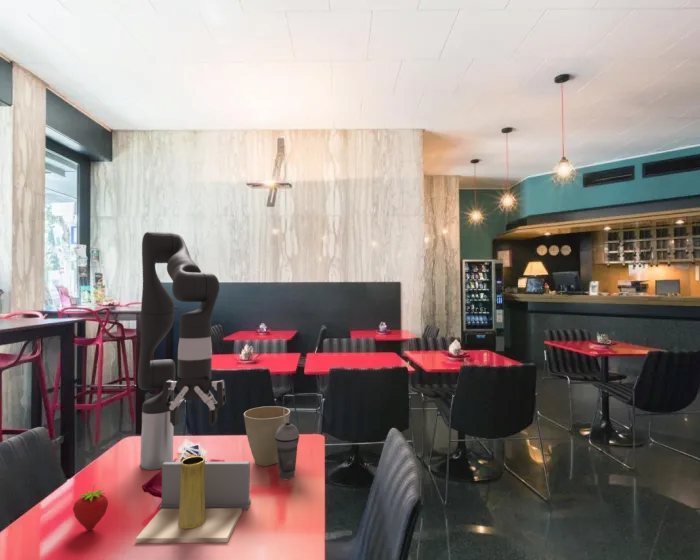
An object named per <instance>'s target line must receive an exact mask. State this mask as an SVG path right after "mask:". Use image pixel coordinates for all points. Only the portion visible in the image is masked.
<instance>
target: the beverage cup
mask: <svg viewBox="0 0 700 560" xmlns="http://www.w3.org/2000/svg"><path fill="white" fill-rule="evenodd" d="M283 415H284V424H282V425H281V426H280V427H279V428H278V430H277V432H276V436H275V440H276V445H277V456H278V462H277V466H278V467H277V469H278V475H279V476H278V477H279V479H280V478H281V480H284V479H288V480H291V479H290V478H292V477H293V478H294V477H295V474H296V473H295V472H296V468H297V467H296V465H297V454H298V445H299V440H300V435H299V430H298V428H297V426H296V425H295V424H292V422H289V423H286V419H285V409H283ZM293 478H292V479H293Z"/></svg>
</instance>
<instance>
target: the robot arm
mask: <svg viewBox="0 0 700 560" xmlns="http://www.w3.org/2000/svg"><path fill="white" fill-rule="evenodd" d="M141 257H142V258H141V262H142V293H141V294H142V295H141V306H140V347H139V356H138V357H139V358H138V367H137V370H138V371H137V384H138V388H139V389H140V390H142V391H151V390H160V389H162V391H161V392H160V393H158V394H157V395H155V396H153V397H151V398H149V399H147V400H145V401H144V402H143V403H142V405H141V411H142V412H141V433H140V467H141V469H143V470H147V471H151V470H154V471H155V470H160V469H162V464H163V463H164V462H174V427H177V426H178V425H179V423H180V407H179V406H180V405H181V403H182V402H183V401H185V400H186V401H191V400H194V401H201V400H202V401H203V403H205V404H206V405H207V406H208V408H209V411H208V426H209V427H213V426H214V425H215V424H216V423H217V421H218V410H219V408H222V407H223V406H224V405H226V403H227V400H226V399H227V398H226V397H227V396H226V381H225V380H224V379H221V380H215V381H213V379H212V364H213V363H212V362H213V361H212V360H213V359H212V356H213V347H212V346H213V345H212V336H211V335H212V317H213V313H214V309H215V306H216V303H217V299H218V296H219V292H220V281H219V279H218V277H217V276H216V275H215V274H213V273H211V272H202V271H201V269H200V267H199V265H197V263H195V261H194V260H193V259H192V258H191V255H190V251H189V249H188V247H187V244H186V243H185V240H184V239H183V237H182V236H181V235H180V234H179V233H177V232H171V231H170V232H168V231H146V232H145V233H144V234H143V237H142V241H141ZM156 264H167V265H166V271H167V274H168V276H169V277H170V279H171V280H172V286H171V287H172V288H171V290H172V295H173V297H174V298H175V299H176V300H177V301H179V302H183V303H184V302H185V303H200V305H199V307H198V308H197V309H195V310H192V311H191V310H190V311H188V312H187V311H186V312H183V313H181V315H180V317H179V339H178V347H177V369H176V363H175V361H174V360H173V359H171V358H169V359H166V358H165V359H153V360H152V357H153V355H154V354H155V353H154V352H155V350H156V349H157V347H158V346H159V344H160V343H162V341H163V339H164V338H165V337H166V336H167V335H168V333H169V332H170V330H171V329H172V327H173V325H174V321H175V302H174V300H173V298H172V297H171V295H170V293H169V292H168V291H167V289H166V288H165V286H164V285H163V283H162V282H161V280H160V278H159V276H158V273H157V271H156V270H157V269H156ZM176 370H177V371H176ZM176 372H177V380H176ZM175 387H176V390H177V391H178V392H179V393H178V394H177V395H176V396H175ZM212 387H213V389H214V390H215V391H216V396H217V398H216V399H215V397H214V396H215V395H214V394H213V393H212V392H211V389H212Z"/></svg>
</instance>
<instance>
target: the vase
mask: <svg viewBox="0 0 700 560" xmlns="http://www.w3.org/2000/svg"><path fill="white" fill-rule="evenodd" d="M180 462H181V488H180V505H179V521H178V526H179V527H180V528H182V529H193V528H196V527H198V526H200V525H202V524H203V523H204V522H205V520H206V515H205V462H206V458H205V457H204V456H200V455H196V456H195V455H194V456H189V457H185V458H183V460H181V461H180Z"/></svg>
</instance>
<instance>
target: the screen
mask: <svg viewBox="0 0 700 560" xmlns="http://www.w3.org/2000/svg"><path fill="white" fill-rule="evenodd" d="M181 462H182V461H173V462H164V463H163V464H162V468H161V470H162V471H161V504H160V505H159V506H158V512H159V511H160V510H161V509H179V505H180V488H181ZM250 468H251V461H205V509H214V508H242V509H241V511H248V508H249V506H250V504H251V502H252V501H251V497H250V493H251V492H250V483H251V482H250V477H251V475H250V474H251V473H250V472H251V471H250V470H251V469H250Z"/></svg>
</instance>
